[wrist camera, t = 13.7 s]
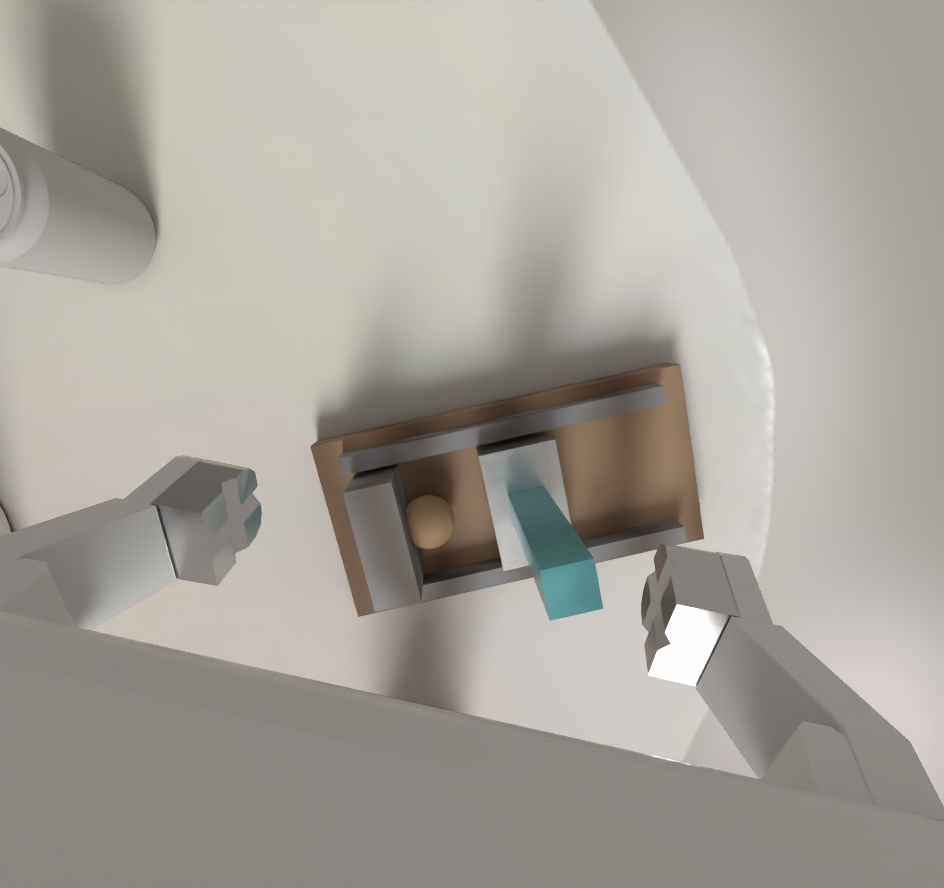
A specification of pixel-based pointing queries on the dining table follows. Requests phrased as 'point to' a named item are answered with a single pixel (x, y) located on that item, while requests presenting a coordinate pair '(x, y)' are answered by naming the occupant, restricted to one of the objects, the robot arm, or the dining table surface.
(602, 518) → the tray
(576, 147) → the dining table surface
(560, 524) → the track slider block
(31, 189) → the beverage can
